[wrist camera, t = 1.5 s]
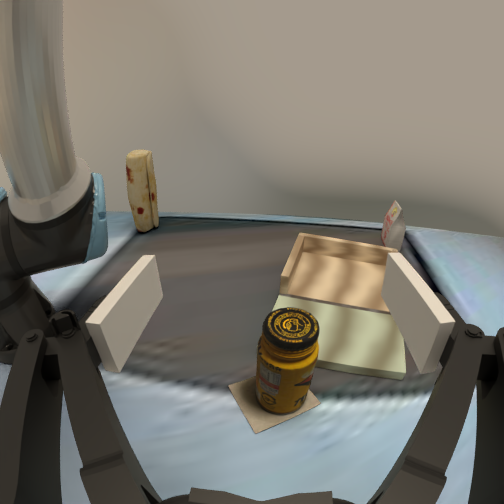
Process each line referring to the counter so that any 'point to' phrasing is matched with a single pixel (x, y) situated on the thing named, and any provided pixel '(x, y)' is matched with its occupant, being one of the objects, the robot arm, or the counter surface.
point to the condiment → (281, 370)
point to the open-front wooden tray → (345, 304)
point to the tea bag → (393, 227)
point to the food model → (142, 189)
